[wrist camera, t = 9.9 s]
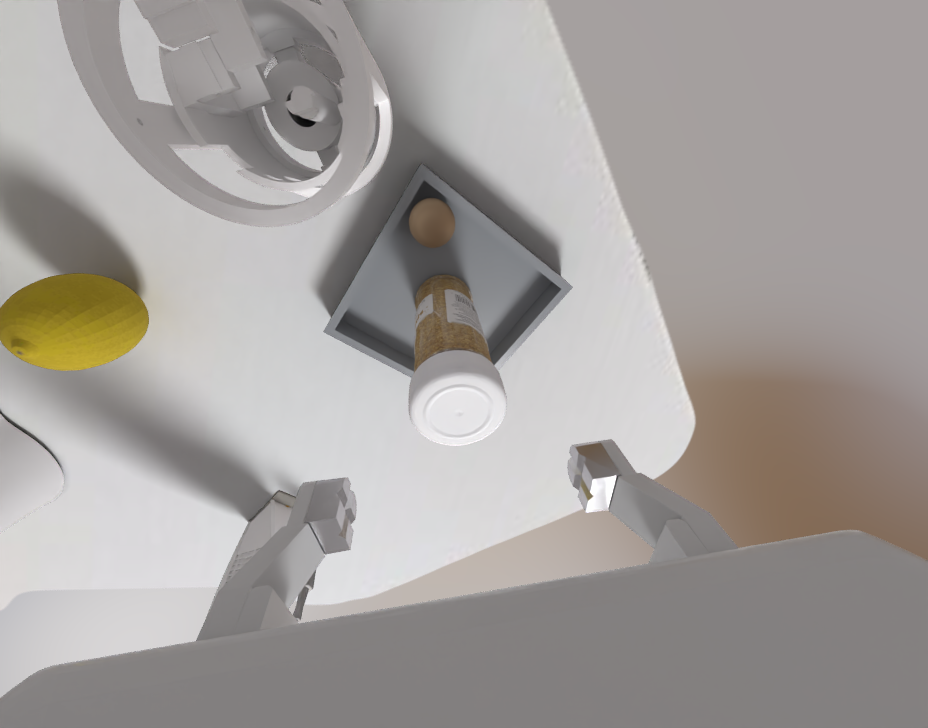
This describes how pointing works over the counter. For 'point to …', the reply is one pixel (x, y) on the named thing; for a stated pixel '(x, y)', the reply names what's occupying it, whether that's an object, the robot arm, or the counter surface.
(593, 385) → the counter surface
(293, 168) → the white hollow mechanical part
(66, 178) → the counter surface
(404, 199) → the tray
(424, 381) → the sprinkles bottle
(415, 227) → the wooden ball
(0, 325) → the lemon
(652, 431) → the counter surface
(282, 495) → the skyscraper
